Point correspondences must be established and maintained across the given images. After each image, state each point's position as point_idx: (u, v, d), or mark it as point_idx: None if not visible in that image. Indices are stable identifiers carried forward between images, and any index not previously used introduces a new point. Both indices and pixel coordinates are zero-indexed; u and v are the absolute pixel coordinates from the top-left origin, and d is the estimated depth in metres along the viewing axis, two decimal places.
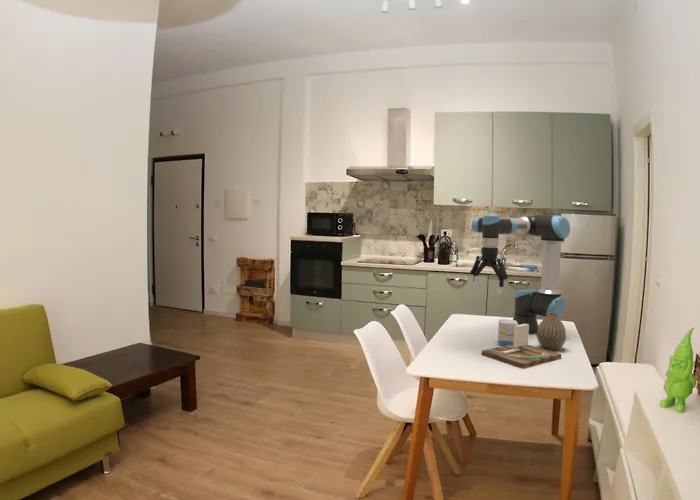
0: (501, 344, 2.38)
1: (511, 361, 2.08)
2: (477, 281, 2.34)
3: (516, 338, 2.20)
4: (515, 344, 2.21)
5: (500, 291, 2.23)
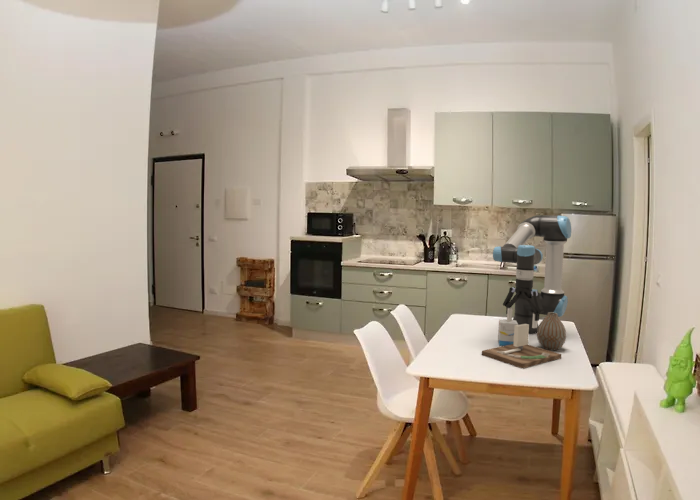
0: (501, 344, 2.38)
1: (511, 361, 2.08)
2: (510, 313, 2.27)
3: (516, 338, 2.20)
4: (515, 344, 2.21)
5: (535, 325, 2.16)
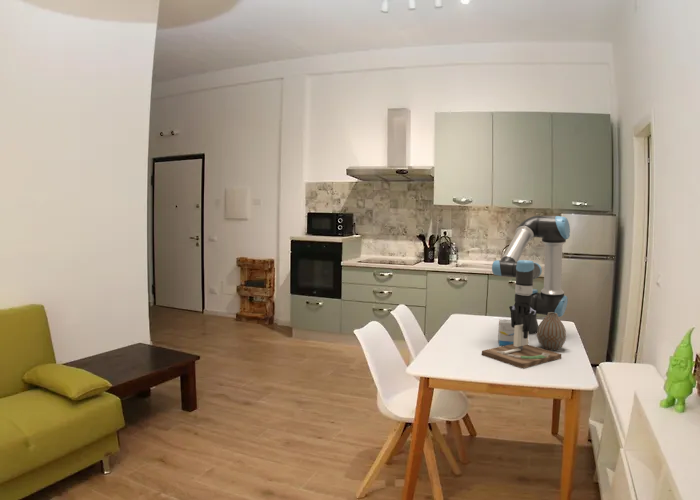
0: (501, 344, 2.38)
1: (511, 361, 2.08)
2: None
3: (516, 338, 2.20)
4: (515, 344, 2.21)
5: (524, 342, 2.21)
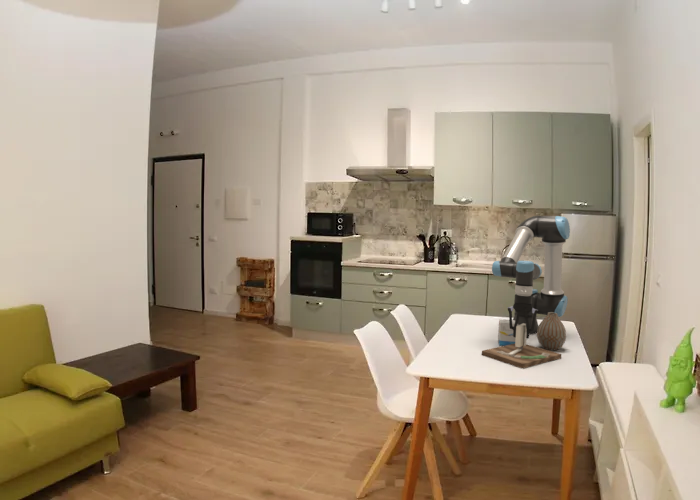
0: (501, 344, 2.38)
1: (511, 361, 2.08)
2: None
3: (518, 338, 2.19)
4: (517, 345, 2.20)
5: (525, 342, 2.22)
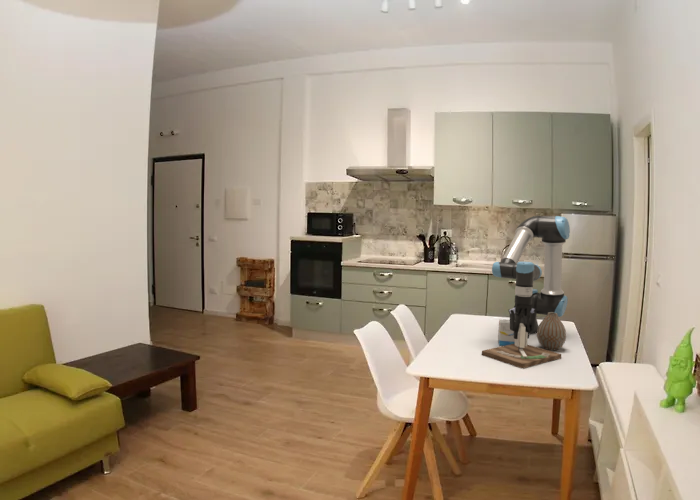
0: (501, 344, 2.38)
1: (511, 361, 2.08)
2: None
3: (523, 339, 2.19)
4: (522, 345, 2.19)
5: None
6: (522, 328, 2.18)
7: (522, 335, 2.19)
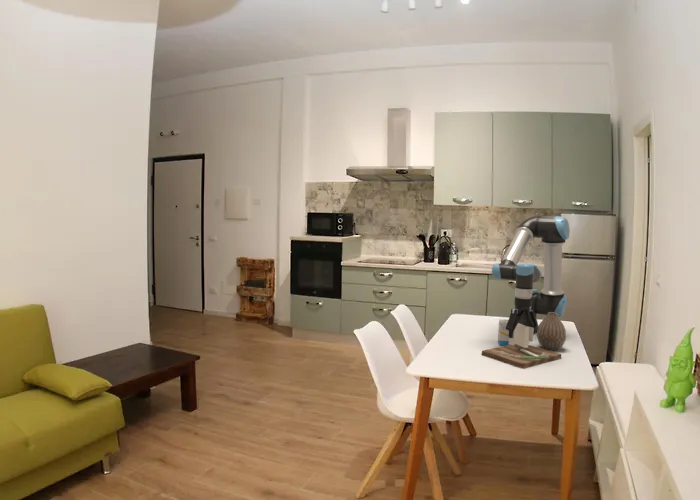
0: (501, 344, 2.38)
1: (511, 361, 2.08)
2: None
3: (527, 339, 2.19)
4: (526, 345, 2.19)
5: None
6: (526, 328, 2.18)
7: (526, 335, 2.19)
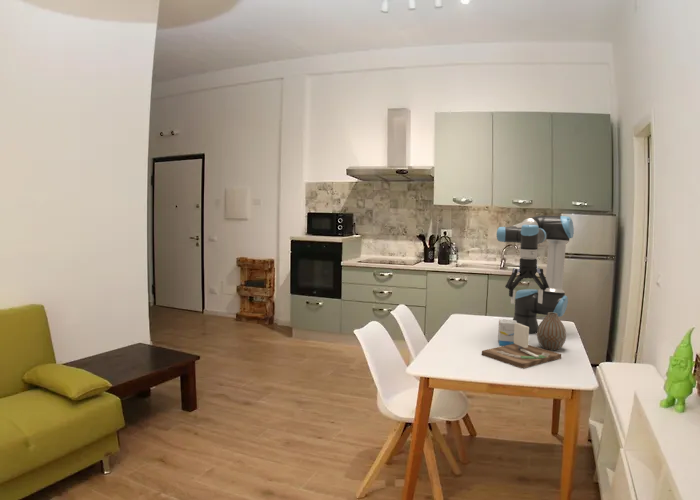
0: (501, 344, 2.38)
1: (511, 361, 2.08)
2: None
3: (527, 339, 2.19)
4: (526, 345, 2.19)
5: None
6: (526, 328, 2.18)
7: (526, 335, 2.19)
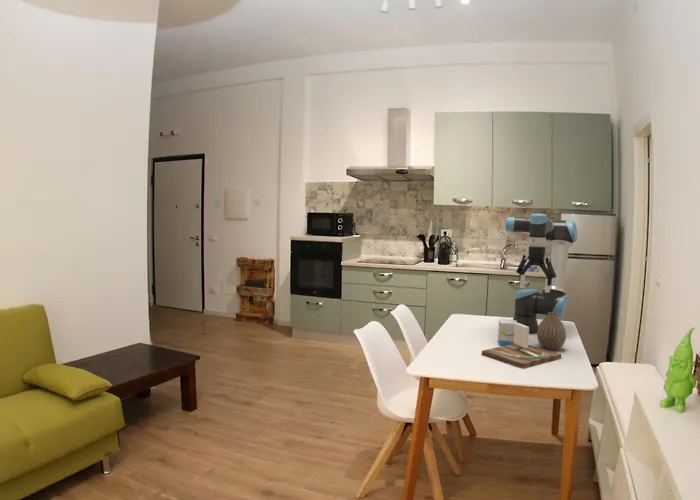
0: (501, 344, 2.38)
1: (511, 361, 2.08)
2: (523, 280, 2.37)
3: (527, 339, 2.19)
4: (526, 345, 2.19)
5: (548, 290, 2.26)
6: (526, 328, 2.18)
7: (526, 335, 2.19)
